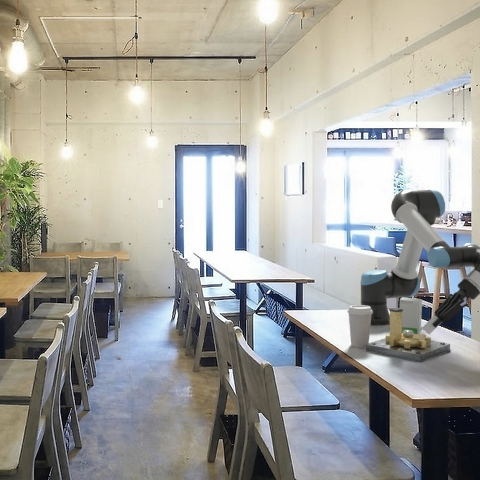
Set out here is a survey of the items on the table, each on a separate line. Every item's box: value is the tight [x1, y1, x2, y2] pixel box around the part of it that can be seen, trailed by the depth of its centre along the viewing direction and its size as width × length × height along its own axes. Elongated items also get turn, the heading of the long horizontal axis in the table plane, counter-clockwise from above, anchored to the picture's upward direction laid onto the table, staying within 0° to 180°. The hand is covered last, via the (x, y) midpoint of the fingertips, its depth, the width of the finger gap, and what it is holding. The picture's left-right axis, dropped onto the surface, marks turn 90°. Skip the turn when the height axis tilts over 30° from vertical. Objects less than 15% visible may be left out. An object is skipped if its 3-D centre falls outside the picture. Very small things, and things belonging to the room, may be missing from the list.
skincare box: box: [399, 297, 423, 334], centre depth 237 cm, size 8×7×16 cm
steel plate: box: [365, 330, 451, 363], centre depth 215 cm, size 22×22×7 cm
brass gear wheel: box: [385, 307, 432, 349], centre depth 214 cm, size 16×16×13 cm
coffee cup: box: [346, 304, 373, 349], centre depth 222 cm, size 10×10×15 cm
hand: (425, 331), depth 209 cm, fingers closed
